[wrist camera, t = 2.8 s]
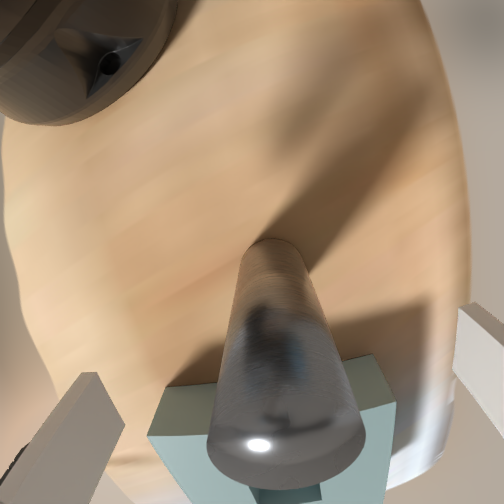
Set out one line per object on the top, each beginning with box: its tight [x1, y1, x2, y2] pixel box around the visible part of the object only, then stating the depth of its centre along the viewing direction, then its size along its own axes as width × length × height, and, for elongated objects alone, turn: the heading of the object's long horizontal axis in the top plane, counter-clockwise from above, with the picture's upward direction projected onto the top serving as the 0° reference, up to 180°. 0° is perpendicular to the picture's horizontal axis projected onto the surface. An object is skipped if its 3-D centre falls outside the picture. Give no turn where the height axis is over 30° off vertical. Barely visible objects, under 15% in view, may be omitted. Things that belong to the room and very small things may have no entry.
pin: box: [206, 239, 366, 490], centre depth 14 cm, size 4×4×14 cm
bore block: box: [147, 354, 397, 504], centre depth 22 cm, size 16×16×6 cm
